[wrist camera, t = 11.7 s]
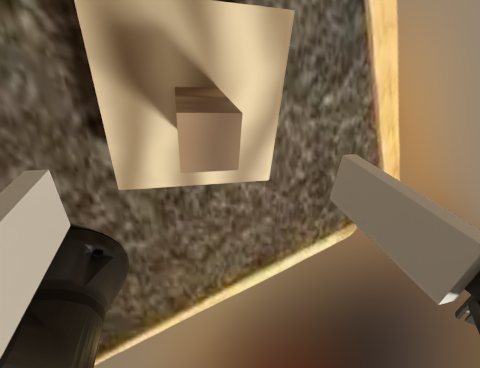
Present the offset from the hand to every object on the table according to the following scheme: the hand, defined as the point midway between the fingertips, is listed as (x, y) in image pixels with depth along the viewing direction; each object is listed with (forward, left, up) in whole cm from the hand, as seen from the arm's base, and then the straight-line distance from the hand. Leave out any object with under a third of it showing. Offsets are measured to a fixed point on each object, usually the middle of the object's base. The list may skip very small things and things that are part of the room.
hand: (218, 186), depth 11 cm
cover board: (0, 0, -15) cm, 15 cm away
